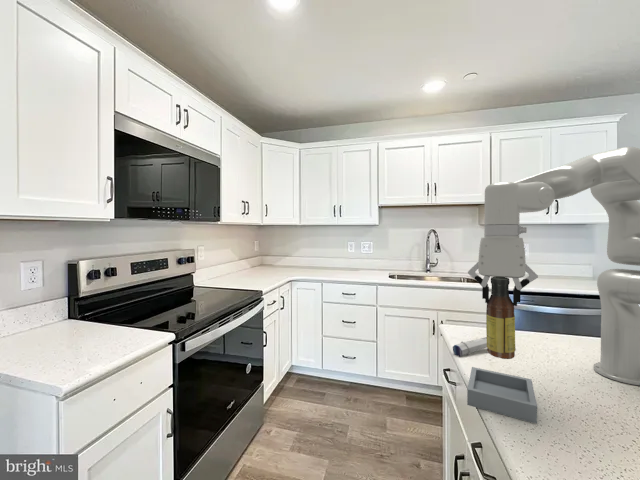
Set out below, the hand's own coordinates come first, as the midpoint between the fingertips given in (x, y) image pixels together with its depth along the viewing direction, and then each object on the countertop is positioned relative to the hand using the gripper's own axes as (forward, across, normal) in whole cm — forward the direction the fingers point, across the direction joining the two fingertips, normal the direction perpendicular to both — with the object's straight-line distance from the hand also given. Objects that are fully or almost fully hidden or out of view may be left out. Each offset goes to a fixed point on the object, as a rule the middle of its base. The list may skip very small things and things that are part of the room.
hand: (500, 302), depth 74 cm
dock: (+25, 0, 0) cm, 25 cm away
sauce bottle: (+14, 0, 0) cm, 14 cm away
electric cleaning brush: (+25, +5, -33) cm, 42 cm away
